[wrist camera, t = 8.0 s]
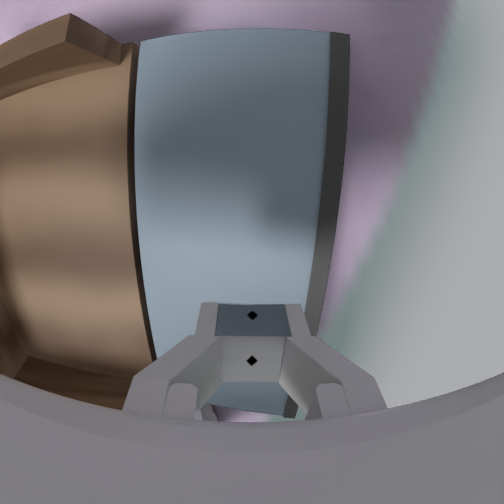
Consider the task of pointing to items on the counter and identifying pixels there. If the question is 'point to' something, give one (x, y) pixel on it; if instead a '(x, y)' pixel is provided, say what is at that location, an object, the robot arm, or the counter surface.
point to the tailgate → (238, 179)
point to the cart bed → (70, 214)
